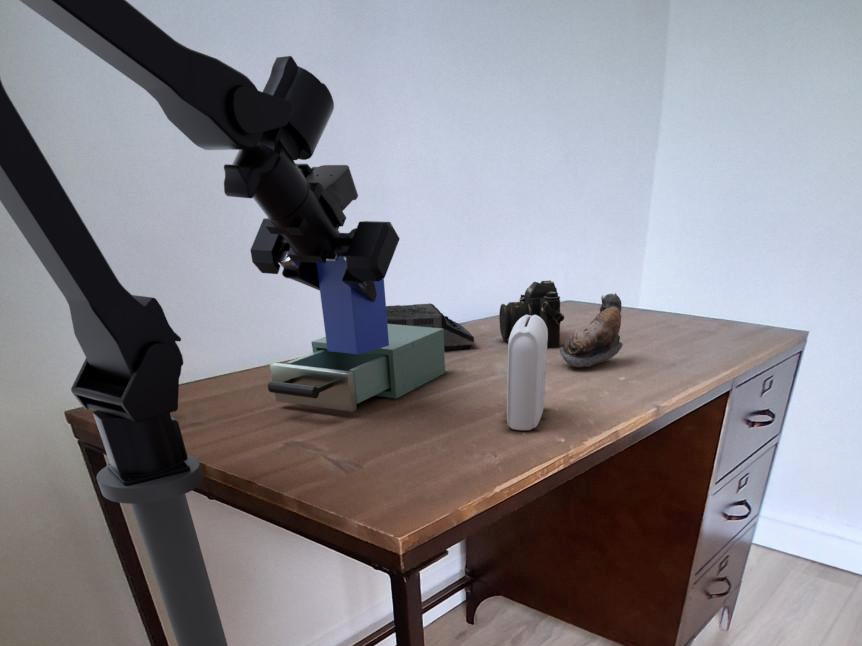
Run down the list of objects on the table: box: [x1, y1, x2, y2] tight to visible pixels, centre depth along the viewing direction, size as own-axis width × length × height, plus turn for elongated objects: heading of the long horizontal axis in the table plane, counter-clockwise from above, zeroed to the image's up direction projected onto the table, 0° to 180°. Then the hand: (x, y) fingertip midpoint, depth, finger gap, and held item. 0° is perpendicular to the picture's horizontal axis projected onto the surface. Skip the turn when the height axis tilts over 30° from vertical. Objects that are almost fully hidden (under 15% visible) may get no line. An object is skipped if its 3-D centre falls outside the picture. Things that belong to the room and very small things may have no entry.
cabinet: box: [311, 324, 446, 399], centre depth 102 cm, size 16×14×7 cm
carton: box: [316, 256, 389, 355], centre depth 86 cm, size 7×5×12 cm
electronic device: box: [386, 302, 475, 352], centre depth 122 cm, size 12×17×6 cm
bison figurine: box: [559, 292, 624, 369], centre depth 108 cm, size 12×7×10 cm, turn 135°
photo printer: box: [506, 315, 548, 431], centre depth 84 cm, size 10×4×12 cm, turn 169°
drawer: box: [267, 349, 391, 413], centre depth 92 cm, size 19×12×5 cm, turn 156°
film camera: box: [498, 279, 565, 348], centre depth 123 cm, size 18×12×10 cm
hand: (357, 297), depth 86 cm, fingers closed on carton, 5 cm apart
